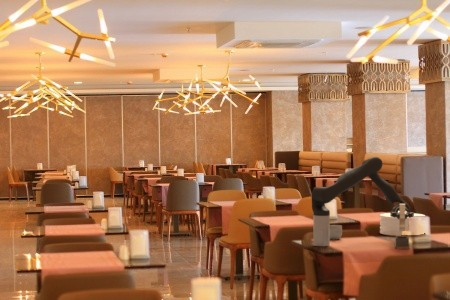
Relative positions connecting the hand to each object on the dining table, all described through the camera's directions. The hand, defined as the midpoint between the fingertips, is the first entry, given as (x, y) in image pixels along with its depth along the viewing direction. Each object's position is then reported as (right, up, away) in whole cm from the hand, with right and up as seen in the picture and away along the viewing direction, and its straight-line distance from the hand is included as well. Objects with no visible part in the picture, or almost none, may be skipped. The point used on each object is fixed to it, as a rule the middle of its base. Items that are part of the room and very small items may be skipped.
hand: (402, 216), depth 505 cm
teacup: (-33, -17, +40) cm, 55 cm away
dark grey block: (0, -18, +3) cm, 18 cm away
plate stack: (+13, -16, +66) cm, 69 cm away
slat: (0, -8, +3) cm, 9 cm away
